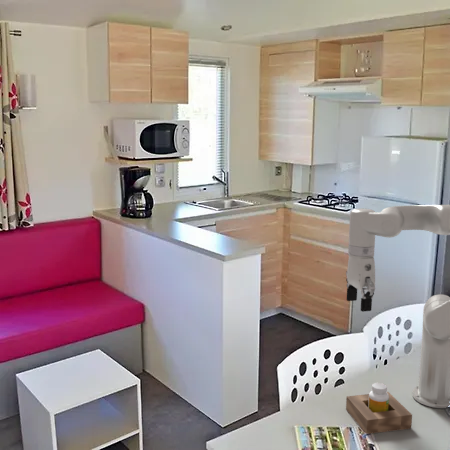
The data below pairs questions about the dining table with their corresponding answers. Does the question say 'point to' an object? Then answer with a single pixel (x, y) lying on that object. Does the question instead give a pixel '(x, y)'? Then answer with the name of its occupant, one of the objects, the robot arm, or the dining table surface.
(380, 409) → the supplement bottle
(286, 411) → the dining table surface
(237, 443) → the dining table surface
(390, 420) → the socket block
